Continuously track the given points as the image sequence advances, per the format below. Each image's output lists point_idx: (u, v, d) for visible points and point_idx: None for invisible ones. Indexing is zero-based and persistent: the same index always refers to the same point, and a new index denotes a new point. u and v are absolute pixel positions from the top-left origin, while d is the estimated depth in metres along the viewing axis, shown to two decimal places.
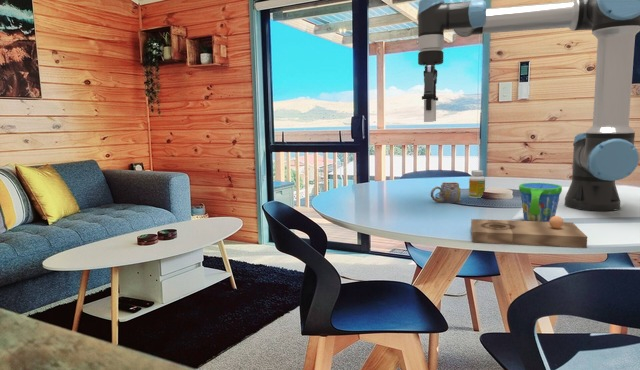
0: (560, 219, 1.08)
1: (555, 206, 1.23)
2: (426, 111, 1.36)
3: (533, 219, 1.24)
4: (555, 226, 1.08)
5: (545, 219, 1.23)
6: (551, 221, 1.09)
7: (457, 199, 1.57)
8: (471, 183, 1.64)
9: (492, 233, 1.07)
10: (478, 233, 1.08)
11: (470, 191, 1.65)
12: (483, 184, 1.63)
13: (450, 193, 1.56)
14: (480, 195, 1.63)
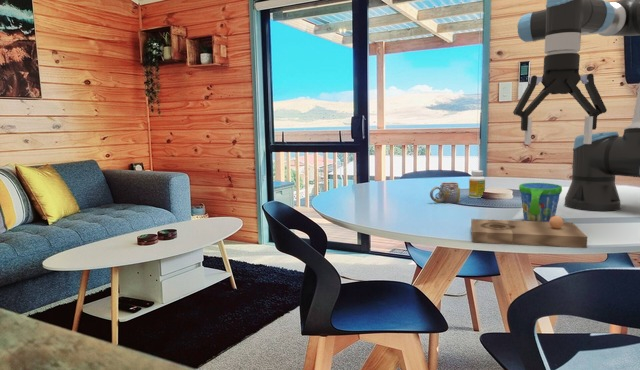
0: (560, 219, 1.08)
1: (555, 206, 1.23)
2: (525, 131, 1.13)
3: (533, 219, 1.24)
4: (555, 226, 1.08)
5: (545, 219, 1.23)
6: (551, 221, 1.09)
7: (456, 199, 1.57)
8: (471, 183, 1.64)
9: (492, 233, 1.07)
10: (478, 233, 1.08)
11: (470, 191, 1.65)
12: (483, 184, 1.63)
13: (449, 193, 1.56)
14: (480, 195, 1.63)
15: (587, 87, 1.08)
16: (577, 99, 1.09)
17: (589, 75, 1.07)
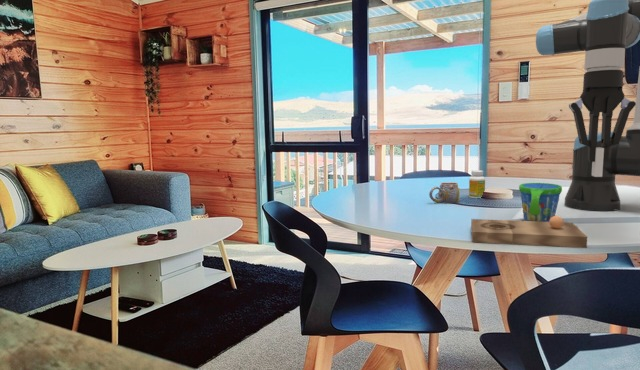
0: (560, 219, 1.08)
1: (555, 206, 1.23)
2: (593, 162, 1.05)
3: (533, 219, 1.24)
4: (555, 226, 1.08)
5: (545, 219, 1.23)
6: (551, 221, 1.09)
7: (456, 199, 1.57)
8: (471, 183, 1.64)
9: (492, 233, 1.07)
10: (478, 233, 1.08)
11: (470, 191, 1.65)
12: (483, 184, 1.63)
13: (449, 193, 1.56)
14: (480, 195, 1.63)
15: (621, 112, 1.02)
16: (603, 122, 1.03)
17: (632, 102, 1.00)
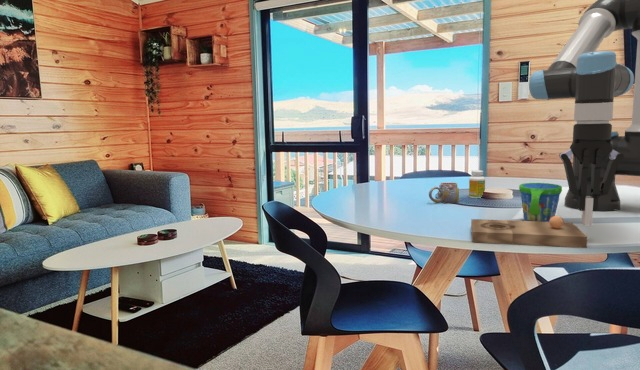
0: (560, 219, 1.08)
1: (555, 206, 1.23)
2: (583, 210, 1.08)
3: (533, 219, 1.24)
4: (555, 226, 1.08)
5: (545, 219, 1.23)
6: (551, 221, 1.09)
7: (455, 199, 1.57)
8: (471, 183, 1.64)
9: (492, 233, 1.07)
10: (478, 233, 1.08)
11: (470, 191, 1.65)
12: (483, 184, 1.63)
13: (448, 193, 1.56)
14: (480, 195, 1.63)
15: (610, 164, 1.04)
16: (592, 172, 1.05)
17: (620, 154, 1.02)
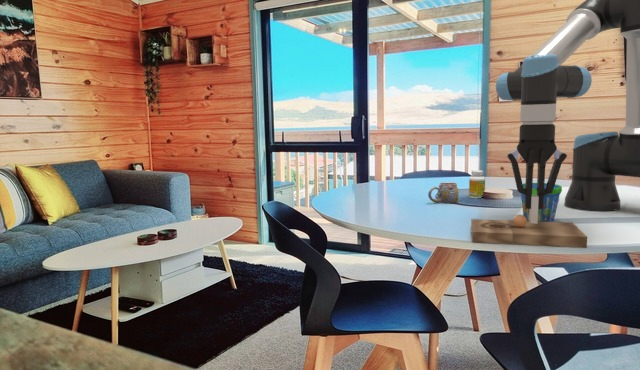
0: (525, 222, 1.10)
1: (555, 206, 1.23)
2: (529, 209, 1.11)
3: None
4: (517, 222, 1.10)
5: (545, 219, 1.23)
6: (519, 216, 1.10)
7: (455, 199, 1.57)
8: (471, 183, 1.64)
9: (492, 233, 1.07)
10: (478, 233, 1.08)
11: (470, 191, 1.65)
12: (483, 184, 1.63)
13: (448, 193, 1.56)
14: (480, 195, 1.63)
15: (554, 163, 1.07)
16: (538, 172, 1.09)
17: (563, 154, 1.05)
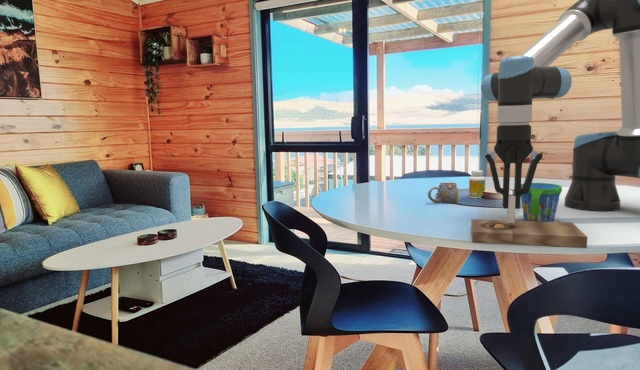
0: None
1: (555, 206, 1.23)
2: (507, 208, 1.12)
3: (533, 219, 1.24)
4: (504, 226, 1.12)
5: (545, 219, 1.23)
6: None
7: (455, 199, 1.57)
8: (471, 183, 1.64)
9: (492, 233, 1.07)
10: (478, 233, 1.08)
11: (470, 191, 1.65)
12: (483, 184, 1.63)
13: (447, 193, 1.56)
14: (480, 195, 1.63)
15: (530, 163, 1.09)
16: (515, 172, 1.10)
17: (539, 154, 1.07)
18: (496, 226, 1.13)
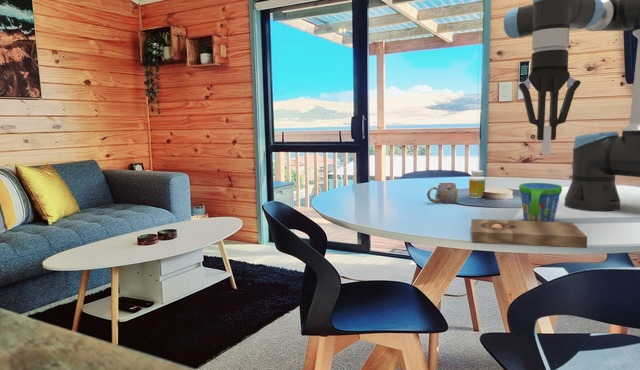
0: None
1: (555, 206, 1.23)
2: (542, 141, 1.08)
3: (533, 219, 1.24)
4: (499, 225, 1.13)
5: (545, 219, 1.23)
6: None
7: (454, 199, 1.56)
8: (471, 183, 1.64)
9: (492, 233, 1.07)
10: (478, 233, 1.08)
11: (470, 191, 1.65)
12: (483, 184, 1.63)
13: (446, 193, 1.56)
14: (480, 195, 1.63)
15: (567, 92, 1.04)
16: (550, 101, 1.06)
17: (576, 81, 1.02)
18: None
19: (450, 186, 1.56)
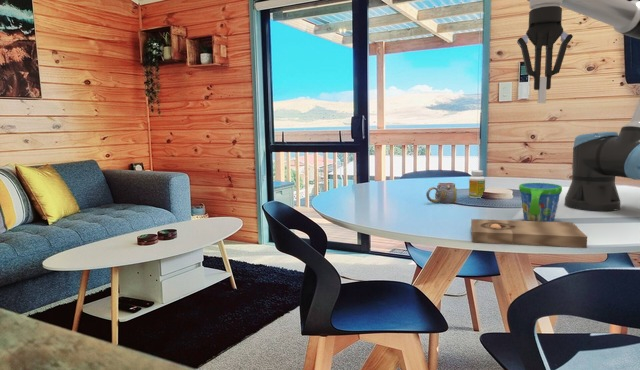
0: None
1: (555, 206, 1.23)
2: (538, 91, 1.20)
3: (533, 219, 1.24)
4: (496, 225, 1.13)
5: (545, 219, 1.23)
6: None
7: (453, 199, 1.56)
8: (471, 183, 1.64)
9: (492, 233, 1.07)
10: (478, 233, 1.08)
11: (470, 191, 1.65)
12: (483, 184, 1.63)
13: (446, 193, 1.55)
14: (480, 195, 1.63)
15: (561, 45, 1.16)
16: (546, 54, 1.18)
17: (569, 35, 1.15)
18: None
19: (449, 186, 1.56)
